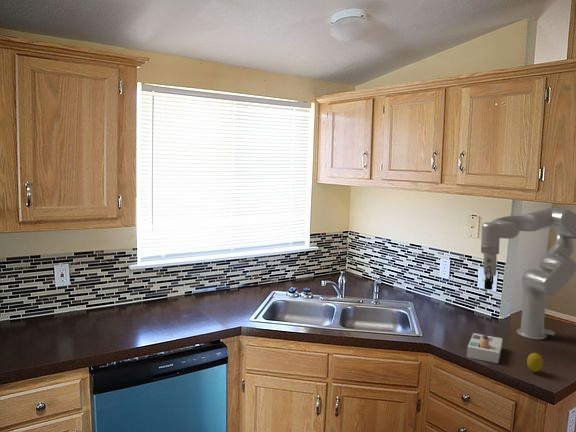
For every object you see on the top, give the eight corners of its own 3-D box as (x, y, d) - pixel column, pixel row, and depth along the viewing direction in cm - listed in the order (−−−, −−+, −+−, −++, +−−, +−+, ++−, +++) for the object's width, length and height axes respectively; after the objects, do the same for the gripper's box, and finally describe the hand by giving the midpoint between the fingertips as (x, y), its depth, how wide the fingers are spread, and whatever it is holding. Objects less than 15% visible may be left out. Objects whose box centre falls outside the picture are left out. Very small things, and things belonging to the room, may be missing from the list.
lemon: (523, 368, 181) (525, 349, 180) (538, 369, 181) (540, 350, 180) (529, 375, 176) (531, 355, 175) (544, 375, 175) (546, 356, 174)
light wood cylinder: (488, 355, 193) (489, 335, 192) (487, 358, 190) (488, 337, 189) (480, 354, 194) (481, 333, 193) (479, 356, 192) (480, 336, 191)
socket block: (501, 348, 201) (502, 338, 200) (498, 363, 185) (498, 352, 185) (472, 342, 207) (473, 332, 206) (466, 357, 191) (467, 346, 191)
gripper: (498, 254, 197) (497, 292, 199) (499, 246, 212) (498, 282, 214) (479, 252, 200) (478, 290, 202) (482, 245, 215) (481, 280, 218)
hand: (488, 286), depth 208 cm, fingers open, 9 cm apart
